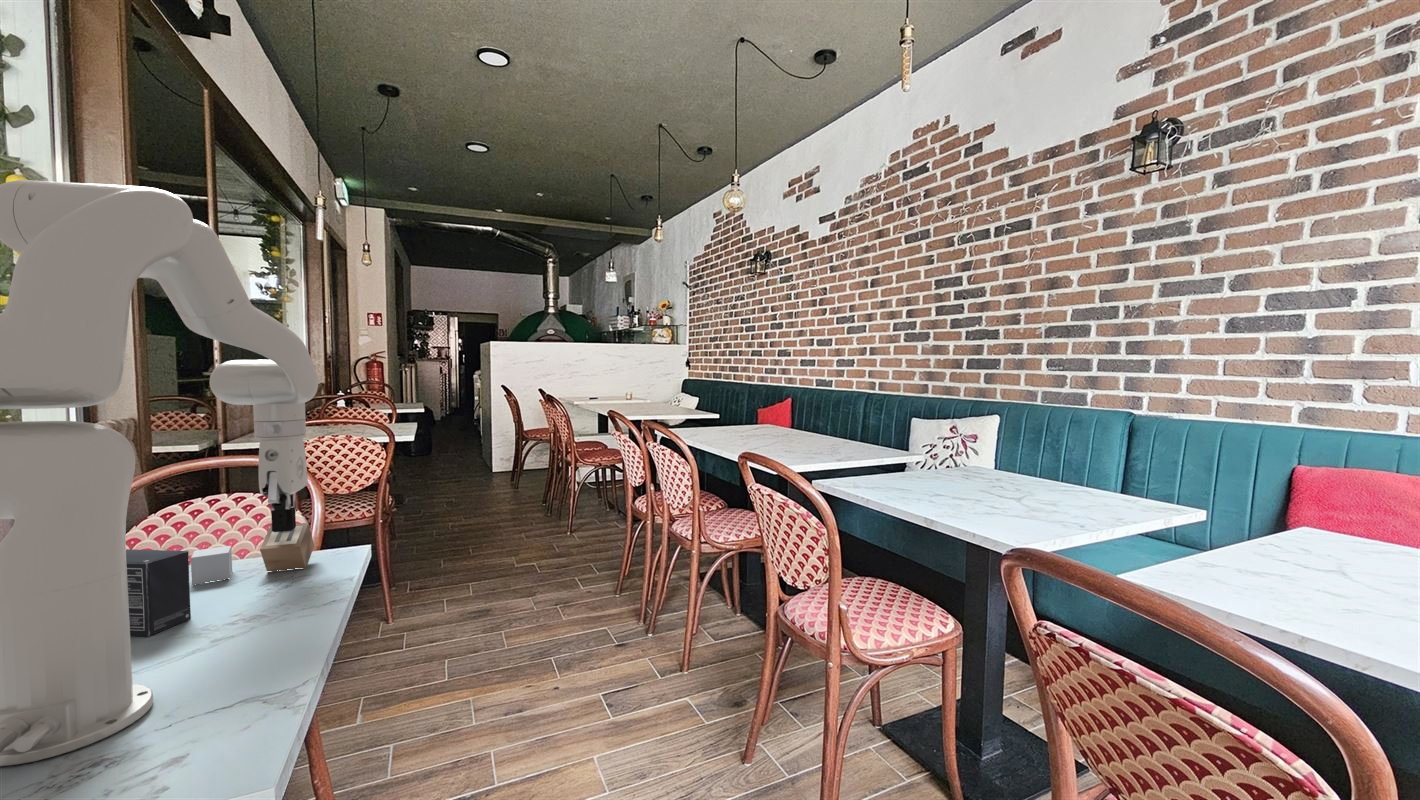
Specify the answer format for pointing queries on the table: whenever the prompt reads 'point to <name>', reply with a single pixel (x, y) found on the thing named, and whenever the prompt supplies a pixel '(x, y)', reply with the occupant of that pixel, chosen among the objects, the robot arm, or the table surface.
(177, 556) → the small box
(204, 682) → the table surface
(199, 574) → the grey block
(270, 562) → the walnut cube
